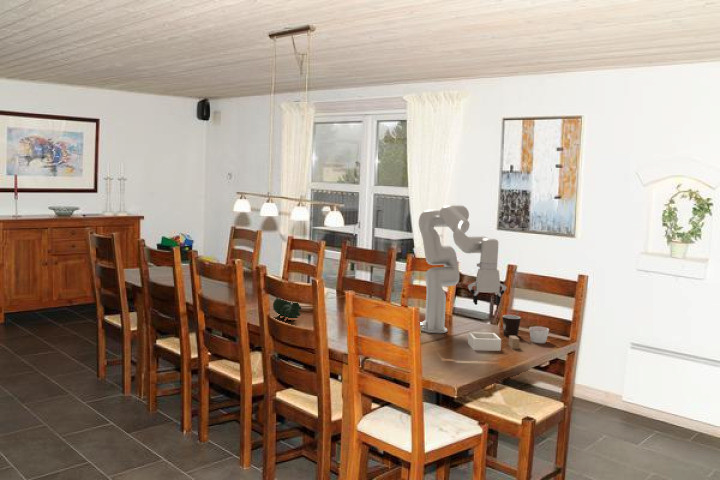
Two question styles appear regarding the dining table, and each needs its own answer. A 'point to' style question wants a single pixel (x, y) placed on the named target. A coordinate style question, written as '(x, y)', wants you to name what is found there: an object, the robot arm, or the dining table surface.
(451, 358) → the dining table surface
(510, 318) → the coffee mug
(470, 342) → the box
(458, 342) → the dining table surface
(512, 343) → the lid
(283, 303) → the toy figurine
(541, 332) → the light grey bowl
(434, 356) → the dining table surface
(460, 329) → the dining table surface
